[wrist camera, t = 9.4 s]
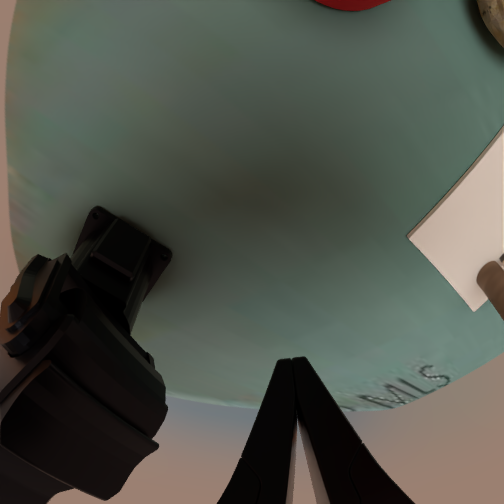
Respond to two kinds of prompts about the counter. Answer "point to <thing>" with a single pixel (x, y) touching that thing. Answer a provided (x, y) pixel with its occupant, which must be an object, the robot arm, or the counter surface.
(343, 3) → the beverage can
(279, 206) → the counter surface
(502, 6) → the onion
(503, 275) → the gatepost
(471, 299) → the card
